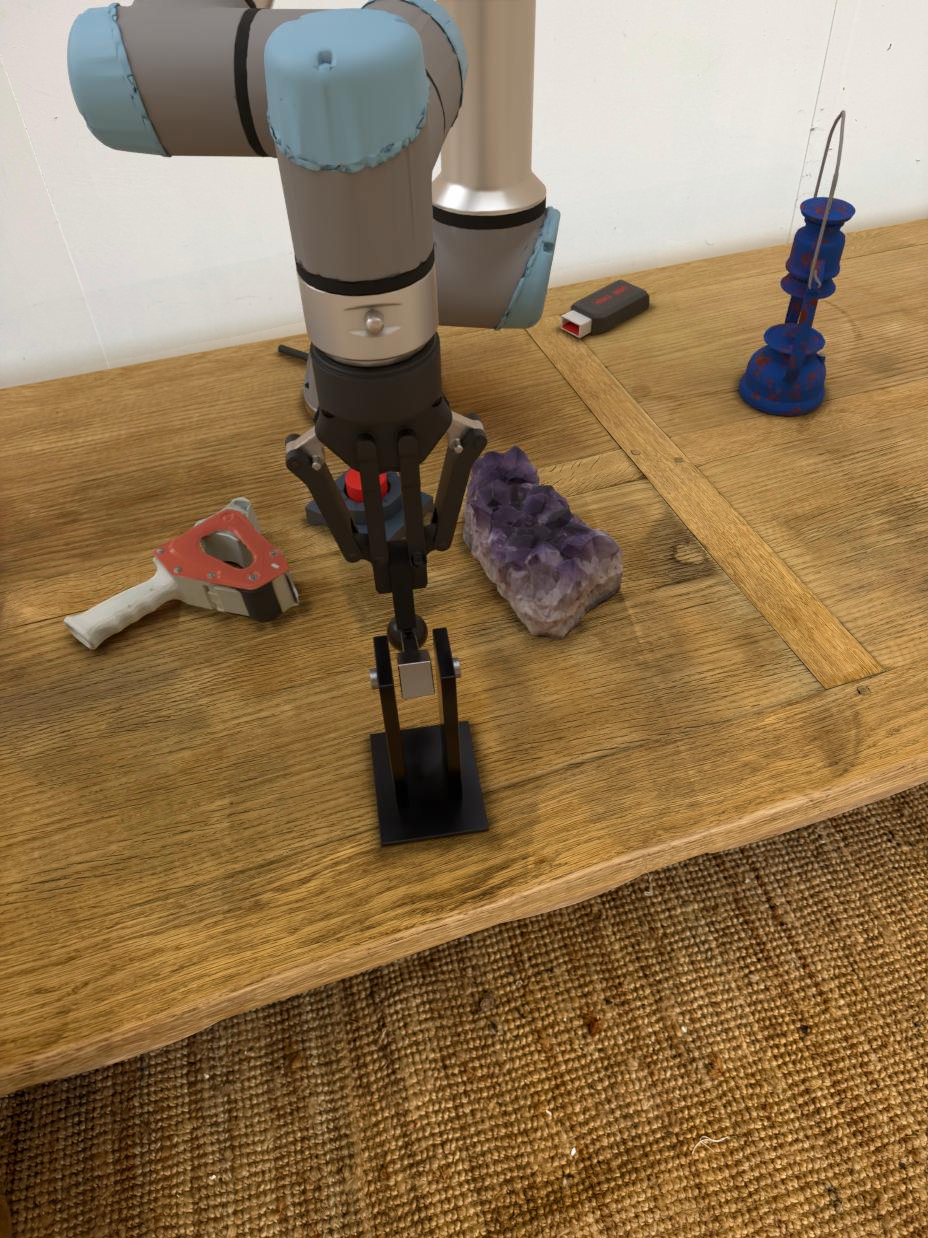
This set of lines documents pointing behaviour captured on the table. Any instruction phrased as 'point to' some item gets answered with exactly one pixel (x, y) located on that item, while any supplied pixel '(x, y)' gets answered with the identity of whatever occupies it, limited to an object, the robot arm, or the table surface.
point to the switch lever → (412, 659)
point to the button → (355, 485)
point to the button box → (390, 508)
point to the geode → (536, 545)
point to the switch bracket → (424, 760)
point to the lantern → (801, 309)
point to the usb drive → (605, 309)
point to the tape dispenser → (202, 577)
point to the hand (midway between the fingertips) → (404, 615)
